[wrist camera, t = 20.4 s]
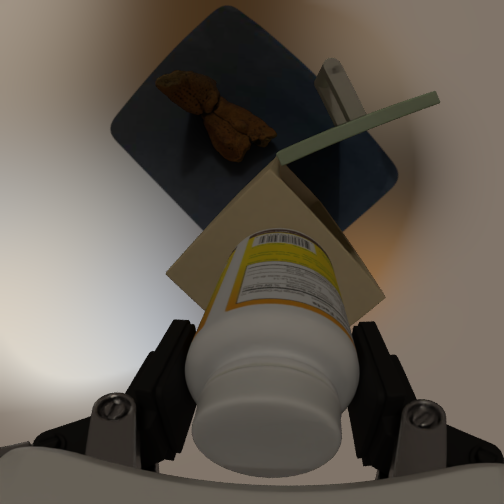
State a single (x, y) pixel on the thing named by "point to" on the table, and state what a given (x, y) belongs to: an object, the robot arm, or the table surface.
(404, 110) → the cabinet door
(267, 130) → the sculpture
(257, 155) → the table surface
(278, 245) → the supplement bottle
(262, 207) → the cabinet
